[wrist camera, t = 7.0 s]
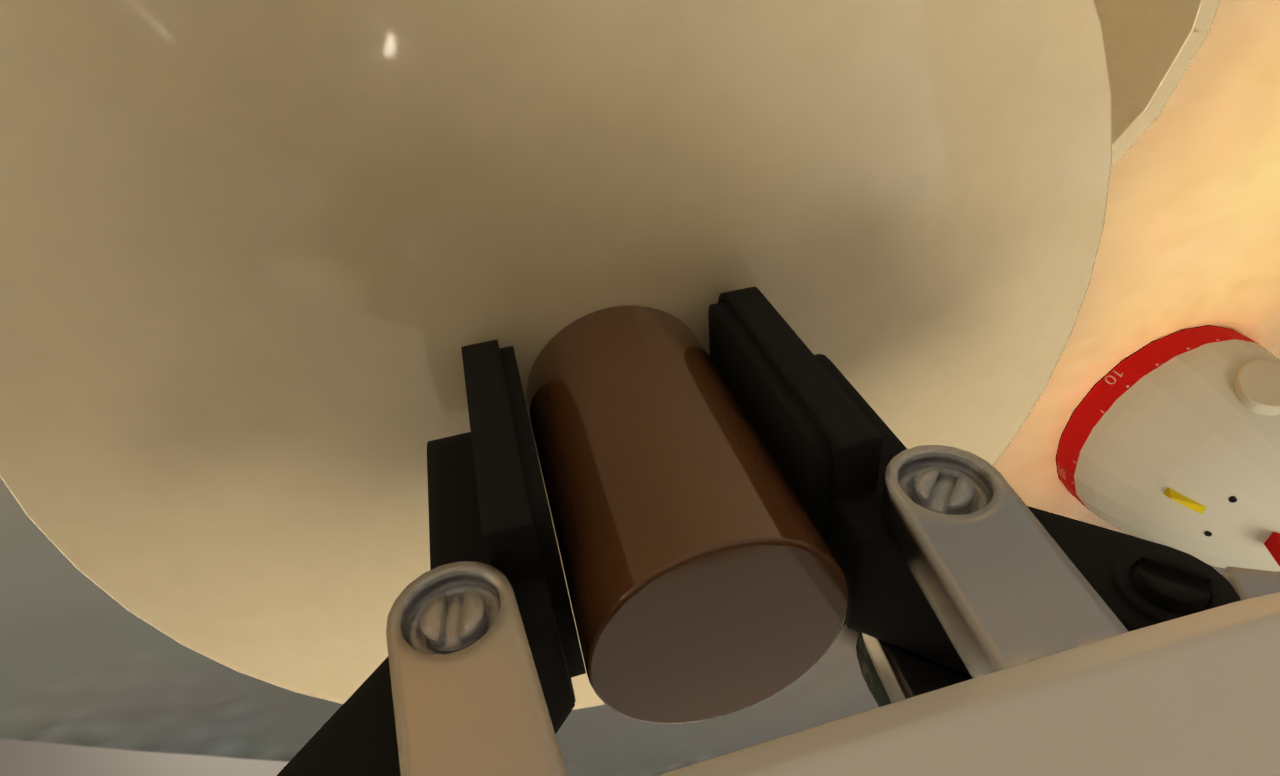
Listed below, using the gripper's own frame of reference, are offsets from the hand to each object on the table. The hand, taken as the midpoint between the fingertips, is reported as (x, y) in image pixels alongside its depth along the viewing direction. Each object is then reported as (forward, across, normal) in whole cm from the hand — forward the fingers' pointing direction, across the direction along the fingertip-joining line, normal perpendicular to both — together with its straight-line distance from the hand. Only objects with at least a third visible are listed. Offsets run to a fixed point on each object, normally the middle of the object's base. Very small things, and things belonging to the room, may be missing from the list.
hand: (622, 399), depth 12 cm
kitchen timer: (+20, -38, +26) cm, 50 cm away
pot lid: (+1, 0, 0) cm, 1 cm away
